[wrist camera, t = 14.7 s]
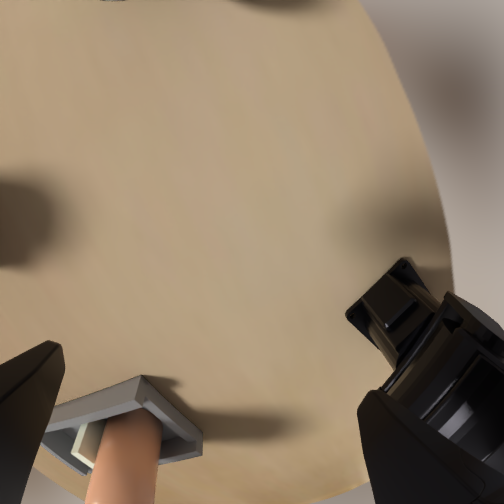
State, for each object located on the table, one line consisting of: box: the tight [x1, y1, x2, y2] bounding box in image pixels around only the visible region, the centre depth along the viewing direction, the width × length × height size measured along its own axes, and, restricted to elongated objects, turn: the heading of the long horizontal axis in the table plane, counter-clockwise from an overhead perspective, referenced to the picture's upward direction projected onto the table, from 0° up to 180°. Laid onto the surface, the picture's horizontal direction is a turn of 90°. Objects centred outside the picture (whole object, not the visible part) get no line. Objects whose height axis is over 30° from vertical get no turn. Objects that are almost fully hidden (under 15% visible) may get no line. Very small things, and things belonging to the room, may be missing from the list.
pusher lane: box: [40, 375, 203, 476], centre depth 24 cm, size 18×10×4 cm, turn 118°
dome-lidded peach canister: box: [85, 408, 163, 504], centre depth 19 cm, size 6×6×13 cm
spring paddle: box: [71, 419, 107, 469], centre depth 22 cm, size 5×7×6 cm
